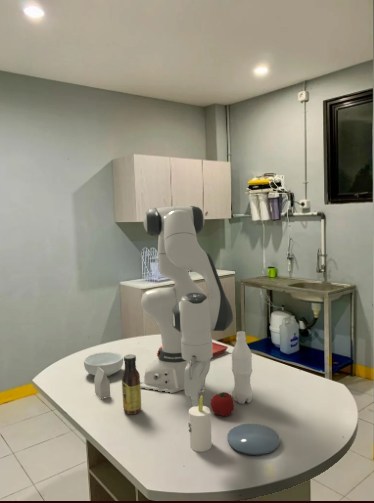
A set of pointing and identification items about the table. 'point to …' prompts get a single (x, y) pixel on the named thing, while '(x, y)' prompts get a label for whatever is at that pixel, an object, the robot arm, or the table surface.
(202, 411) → the candle
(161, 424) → the table surface
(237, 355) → the water bottle
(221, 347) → the plant saucer
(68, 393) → the table surface
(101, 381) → the small milk carton
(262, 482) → the table surface
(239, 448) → the candle dish
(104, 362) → the cereal bowl
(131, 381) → the sauce bottle
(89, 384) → the table surface
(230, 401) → the tomato
